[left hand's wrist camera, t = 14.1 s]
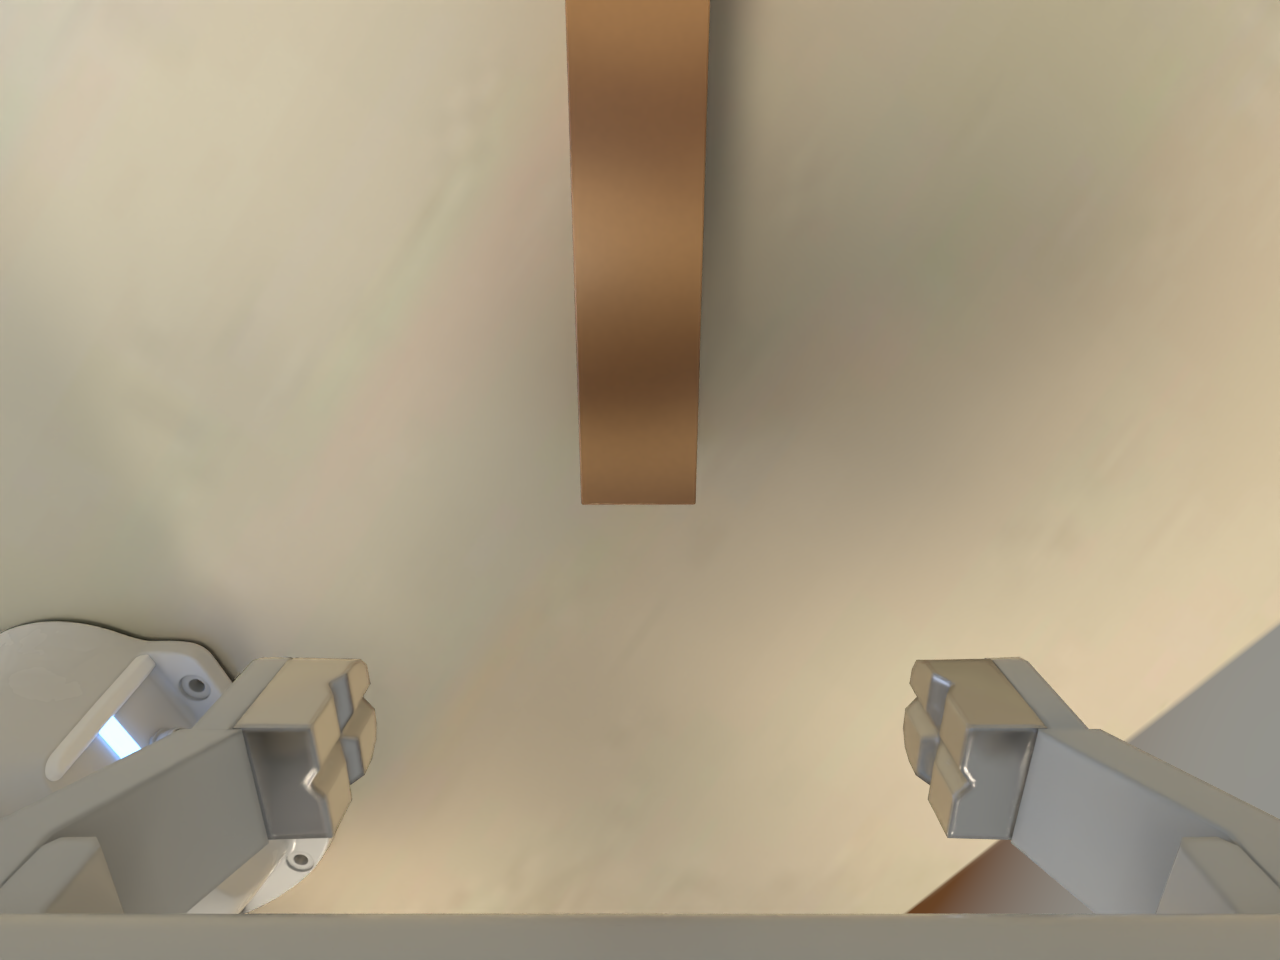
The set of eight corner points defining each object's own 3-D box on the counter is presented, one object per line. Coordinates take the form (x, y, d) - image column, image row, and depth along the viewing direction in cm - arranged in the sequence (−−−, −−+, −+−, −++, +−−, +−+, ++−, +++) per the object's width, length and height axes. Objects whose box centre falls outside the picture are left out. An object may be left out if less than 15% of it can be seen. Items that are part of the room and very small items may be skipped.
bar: (683, 445, 35) (695, 505, 27) (593, 445, 35) (581, 505, 27) (699, -271, 25) (724, -477, 18) (575, -271, 25) (549, -477, 18)
